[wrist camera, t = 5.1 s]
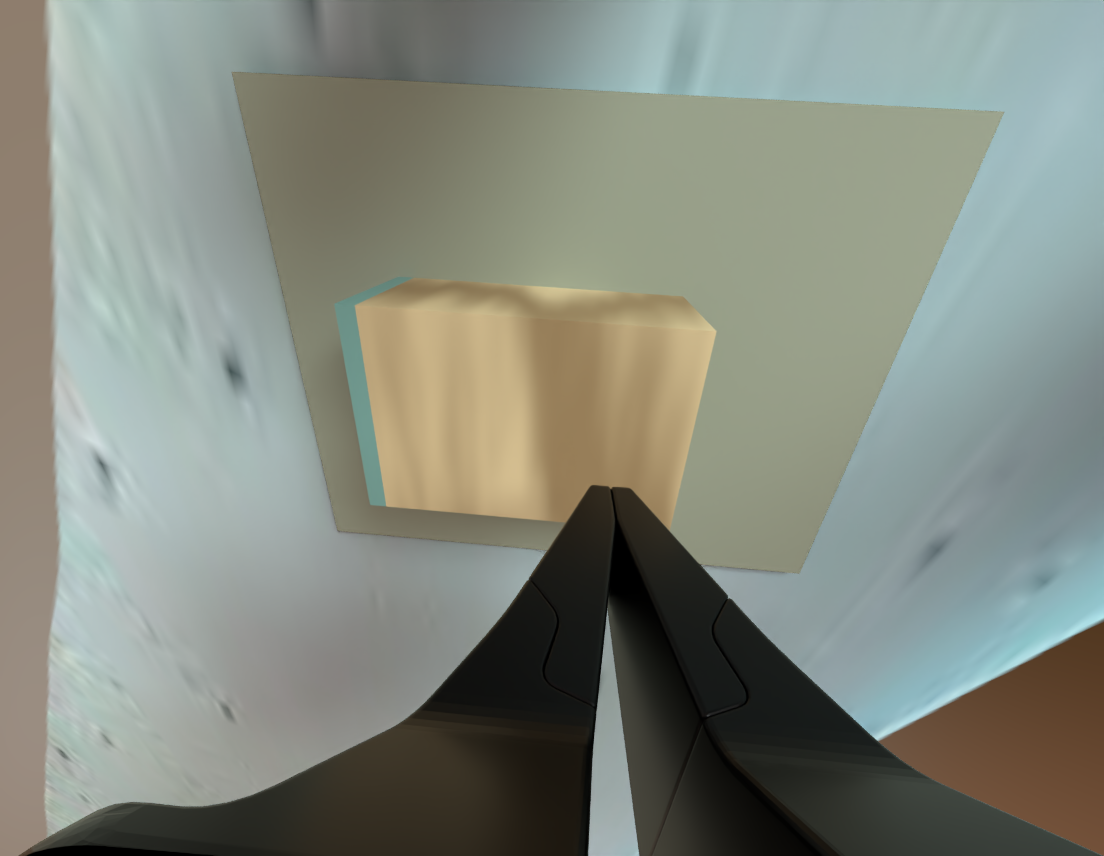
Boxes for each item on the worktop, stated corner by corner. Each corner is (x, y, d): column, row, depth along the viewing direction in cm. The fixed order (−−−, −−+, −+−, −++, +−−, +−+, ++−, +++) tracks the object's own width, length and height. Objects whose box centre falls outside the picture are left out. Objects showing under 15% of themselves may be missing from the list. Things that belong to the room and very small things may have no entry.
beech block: (716, 330, 10) (333, 303, 10) (669, 531, 13) (370, 505, 13) (683, 296, 14) (398, 276, 14) (651, 459, 16) (415, 439, 17)
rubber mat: (991, 114, 11) (1004, 111, 11) (795, 566, 19) (799, 573, 18) (241, 75, 12) (231, 71, 12) (342, 524, 20) (337, 531, 19)
